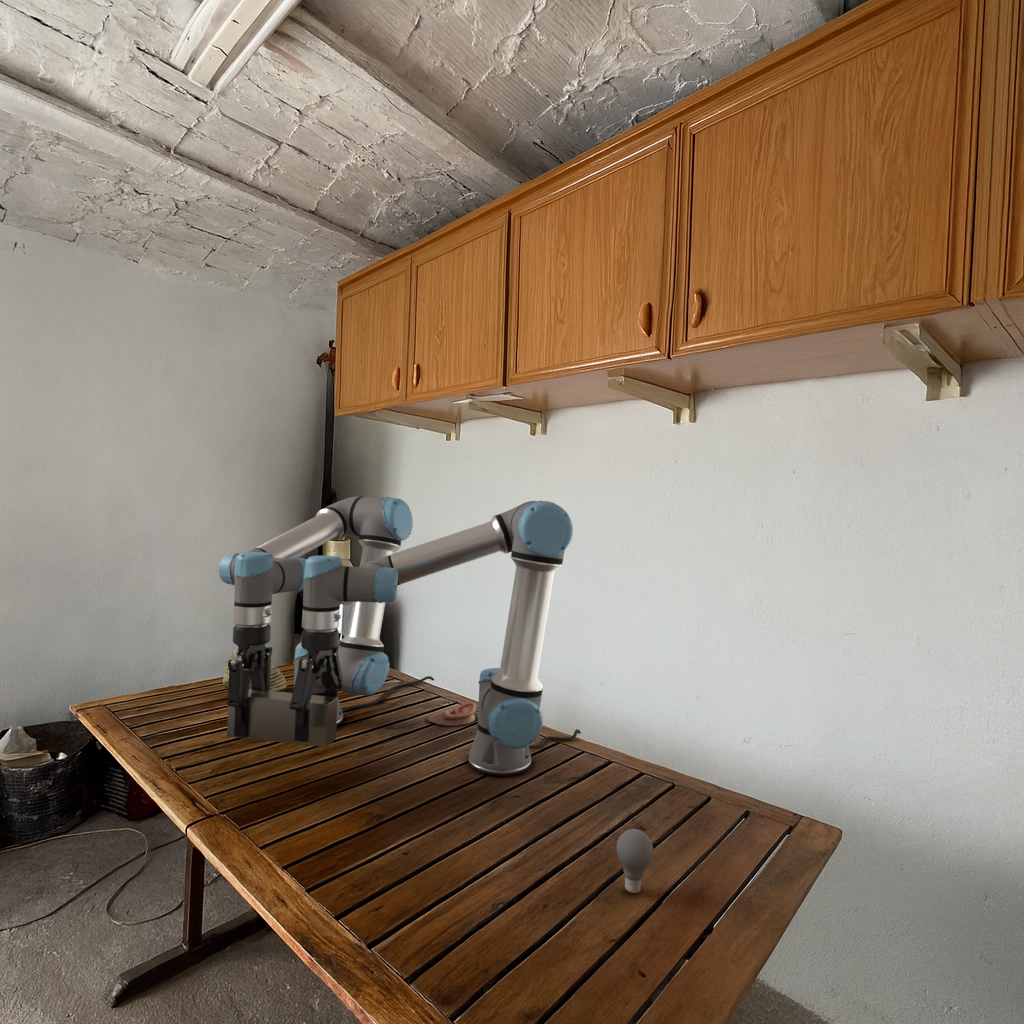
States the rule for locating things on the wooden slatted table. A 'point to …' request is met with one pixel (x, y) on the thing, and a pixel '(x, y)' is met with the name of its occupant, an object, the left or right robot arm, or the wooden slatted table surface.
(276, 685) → the fossil
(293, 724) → the bar
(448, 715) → the anatomical model
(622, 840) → the light bulb
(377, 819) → the wooden slatted table surface
